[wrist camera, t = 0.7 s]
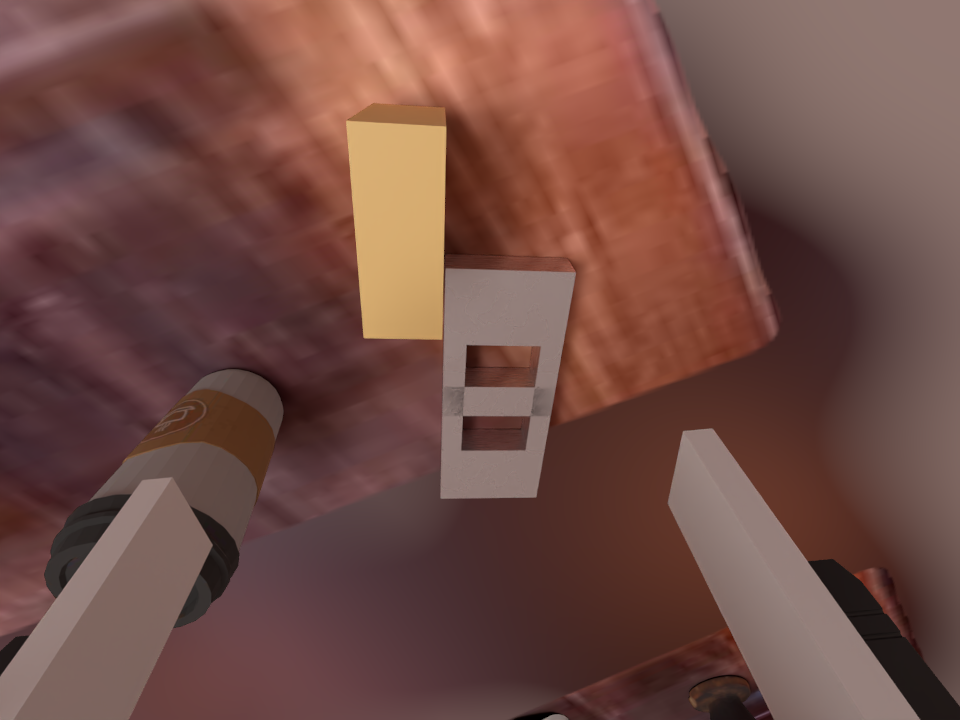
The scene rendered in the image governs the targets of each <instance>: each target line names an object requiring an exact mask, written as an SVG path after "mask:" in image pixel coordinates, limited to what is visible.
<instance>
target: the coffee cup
mask: <svg viewBox="0 0 960 720" xmlns="http://www.w3.org/2000/svg"><path fill="white" fill-rule="evenodd" d="M283 412H284V410H283V406H282V402H281V399H280V396H279V394H278V393H277V391H276V389H275V388H274V387H273V386H272V385H271V384H270V383H269V382H268V381H266V380H265V379H263V378H262V377H261V376H259V375H256V374H254V373H251V372H249V371H244V370H239V369H227V370H222V371H217V372H215V373H211V374H209V375H207V376H205V377H203V378H202V379H201V380H200V381H199V382H198V383H197V384H196V385H195V386H194V387H193V388H192V389H191V390H190V391H189V392H188V393H187V395H186V396H184V397H182V398H181V399H180V401H179V402H178V403H177V404H176V405H175V406H174V407H173V408H172V409H171V410H170V411H169V412H168V413H167V414H166V415H165V417H164V418H163V419H162V420H161V421H160V422H159V423H158V424H157V425H156V426H155V427H154V428H153V429H152V431H151V432H150V433H149V434H148V435H147V436H146V437H145V438H144V439H143V440H142V441H141V442H140V444H139V445H138V446H137V447H136V448H135V449H134V450H133V451H132V452H131V453H130V454H129V455H128V456H127V458H126V459H125V460H124V461H123V462H122V466H121V467H120V468H119V469H118V470H117V471H116V472H115V473H114V474H113V475H112V476H111V478H110V479H109V480H108V481H107V482H106V483H105V484H104V485H103V486H102V487H101V488H100V490H99V491H98V492H97V493H96V494H95V495H94V496H93V497H92V498H91V499H90V500H89V502H87V503H85V504H83V505H81V506H79V507H78V508H77V509H76V510H75V511H74V512H73V513H72V514H71V515H70V516H69V517H68V518H67V520H66V523H65V525H64V528H63V529H62V530H61V531H60V532H59V533H58V534H57V536H56V537H55V539H54V542H53V545H52V548H51V559H50V560H49V562H48V563H47V567H46V570H45V573H44V576H45V580H46V585H47V587H48V589H49V590H50V591H51V593H52V594H53V595H54V597H55V598H56V599H57V597H58V596H59V594H60V593H61V592H62V590H63V589H64V588H65V586H66V585H67V583H68V582H69V581H70V579H71V578H72V577H73V575H74V574H75V572H76V571H77V570H78V568H79V567H80V565H81V564H82V563H83V561H84V560H85V559H86V557H87V556H88V554H89V553H90V552H91V550H92V549H93V548H94V546H95V545H96V543H97V542H98V541H99V539H100V538H101V536H102V535H103V534H104V532H105V531H106V530H107V528H108V527H109V525H110V524H111V523H112V521H113V520H114V518H115V517H116V516H117V514H118V513H119V512H120V510H121V509H122V507H123V506H124V505H125V503H126V502H127V501H128V499H129V498H130V496H131V495H132V494H133V492H134V491H135V489H136V488H137V487H138V485H139V484H140V483H141V481H142V480H148V479H159V478H170V477H173V479H174V481H175V482H176V484H177V486H178V487H179V489H180V491H181V492H182V494H183V496H184V498H185V499H186V501H187V503H188V504H189V506H190V508H191V509H192V511H193V513H194V514H195V516H196V518H197V519H198V521H199V523H200V525H201V526H202V528H203V530H204V531H205V533H206V535H207V536H208V538H209V540H210V541H211V543H212V545H213V546H212V548H211V550H210V552H209V554H208V556H207V558H206V560H205V562H204V565H203V567H202V569H201V571H200V573H199V575H198V577H197V579H196V581H195V583H194V585H193V587H192V589H191V591H190V594H189V596H188V598H187V600H186V602H185V604H184V606H183V608H182V610H181V612H180V614H179V616H178V618H177V621H176V623H175V625H174V627H173V628H176V627H181V626H183V625H186V624H188V623H191V622H194V621H196V620H197V619H198V618H200V617H201V616H202V615H204V614H205V613H206V611H207V609H208V608H209V606H210V604H211V603H212V602H213V601H215V600H216V599H217V598H219V597H220V596H221V595H222V593H223V592H224V590H225V589H226V587H227V585H228V583H229V581H230V578H231V577H232V575H233V573H234V571H235V570H236V569H237V567H238V562H239V549H240V547H241V543H242V540H243V537H244V534H245V531H246V528H247V525H248V522H249V519H250V516H251V513H252V510H253V508H254V506H255V504H256V502H257V499H258V496H259V493H260V490H261V487H262V484H263V481H264V478H265V475H266V472H267V469H268V466H269V462H270V459H271V456H272V453H273V450H274V445H275V441H276V437H277V434H278V431H279V428H280V425H281V422H282V419H283Z"/></svg>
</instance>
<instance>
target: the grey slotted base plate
mask: <svg viewBox="0 0 960 720" xmlns="http://www.w3.org/2000/svg"><path fill="white" fill-rule="evenodd" d="M575 276H576V271H575V270H574V268H573V267H572V265H571V263H570V262H569V260H568V259H567V258H552V257H522V256H493V255H463V254H445V291H444V338H443V385H442V431H441V496H440V497H441V499H446V498H529V497H536V496H537V490H538V485H539V479H540V473H541V468H542V462H543V456H544V451H545V445H546V440H547V434H548V428H549V423H550V417H551V411H552V406H553V400H554V395H555V389H556V383H557V378H558V372H559V366H560V361H561V355H562V349H563V344H564V338H565V333H566V327H567V321H568V316H569V310H570V304H571V299H572V293H573V287H574V282H575ZM467 345H495V346H532V353H531V360H530V368H477V367H466V347H467ZM463 416H523V419H522V426H521V429H462V425H463Z"/></svg>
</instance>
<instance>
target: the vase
mask: <svg viewBox="0 0 960 720" xmlns="http://www.w3.org/2000/svg"><path fill="white" fill-rule="evenodd" d="M750 692H751V690H750V687H749V684H748V682H747V681H746V680H745V679H743V678H741V677H737V676H724V677H718V678H714V679H711V680H708V681H705V682H702V683H700V684H699V685H697V686H696V687H694V688H693V689H692V690H691V691H690V693H689V694H690V697H689V701H690V703H691V705H692V706H693V707H694V708H695V709H696V710H698V711H702V712H710V719H711V720H756V719H755V718H754V717H753V716H752V715H751V713H750V712H749V711H748V710H747V709H746V707H745V706H744V705H743V702H744V701H745V700H746V699H747V698H748V697H749V696H750Z"/></svg>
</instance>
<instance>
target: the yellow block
mask: <svg viewBox="0 0 960 720" xmlns="http://www.w3.org/2000/svg"><path fill="white" fill-rule="evenodd" d="M346 125H347V138H348V150H349V162H350V174H351V187H352V199H353V211H354V223H355V236H356V248H357V260H358V273H359V285H360V297H361V309H362V322H363V334H364V338H385V339H441V340H442V323H443V272H444V221H445V170H446V114H445V108H442V107H426V106H410V105H393V104H377V103H373V104H371V105H370V106H368V107H367V108H365V109H364V110H362V111H360V112H359V113H357V114H356V115H354V116H353V117H351V118H350V119H348V120H347V121H346Z"/></svg>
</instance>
